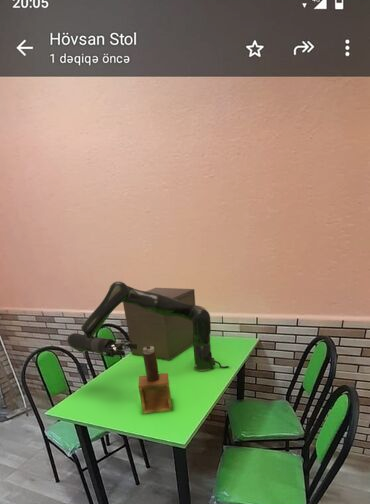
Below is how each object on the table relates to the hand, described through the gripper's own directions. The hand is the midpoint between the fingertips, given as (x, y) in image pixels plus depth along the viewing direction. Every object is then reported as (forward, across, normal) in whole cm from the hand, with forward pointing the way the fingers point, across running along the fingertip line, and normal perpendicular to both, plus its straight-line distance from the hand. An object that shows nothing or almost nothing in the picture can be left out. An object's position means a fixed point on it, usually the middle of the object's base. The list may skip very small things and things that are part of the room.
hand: (130, 350), depth 147 cm
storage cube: (-27, +64, +26) cm, 74 cm away
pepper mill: (+11, -1, +12) cm, 16 cm away
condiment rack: (+11, -1, +26) cm, 28 cm away
